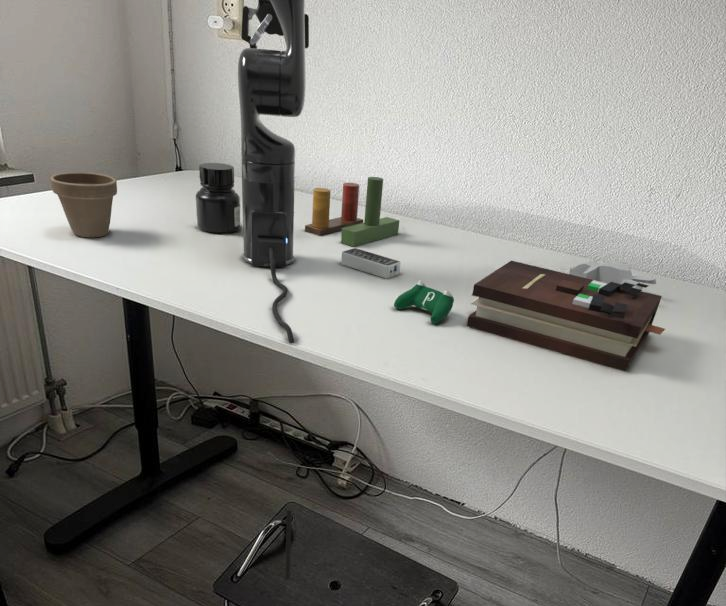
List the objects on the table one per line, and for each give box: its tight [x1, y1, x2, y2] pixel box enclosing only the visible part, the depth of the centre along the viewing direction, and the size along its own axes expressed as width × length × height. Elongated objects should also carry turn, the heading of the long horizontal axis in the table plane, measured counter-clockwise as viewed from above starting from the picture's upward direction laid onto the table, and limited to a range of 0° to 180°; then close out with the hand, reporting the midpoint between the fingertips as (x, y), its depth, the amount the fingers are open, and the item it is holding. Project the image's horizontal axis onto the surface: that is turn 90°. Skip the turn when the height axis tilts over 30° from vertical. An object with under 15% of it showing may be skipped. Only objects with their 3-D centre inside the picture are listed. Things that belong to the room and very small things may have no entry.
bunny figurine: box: [569, 260, 657, 291], centre depth 125 cm, size 10×5×15 cm
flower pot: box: [50, 172, 118, 238], centre depth 126 cm, size 12×11×10 cm
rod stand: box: [304, 182, 364, 237], centre depth 144 cm, size 15×4×8 cm, turn 143°
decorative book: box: [466, 260, 666, 372], centre depth 105 cm, size 19×8×30 cm
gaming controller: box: [393, 279, 455, 325], centre depth 107 cm, size 9×4×6 cm
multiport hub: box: [340, 247, 401, 279], centre depth 124 cm, size 4×11×2 cm, turn 53°
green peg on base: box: [340, 176, 401, 248], centre depth 139 cm, size 16×4×12 cm, turn 143°
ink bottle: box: [195, 162, 242, 234], centre depth 136 cm, size 10×9×12 cm
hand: (274, 68), depth 144 cm, fingers open, 8 cm apart
